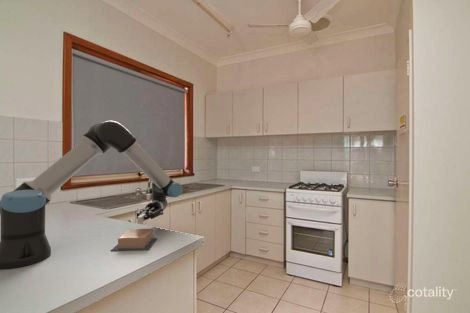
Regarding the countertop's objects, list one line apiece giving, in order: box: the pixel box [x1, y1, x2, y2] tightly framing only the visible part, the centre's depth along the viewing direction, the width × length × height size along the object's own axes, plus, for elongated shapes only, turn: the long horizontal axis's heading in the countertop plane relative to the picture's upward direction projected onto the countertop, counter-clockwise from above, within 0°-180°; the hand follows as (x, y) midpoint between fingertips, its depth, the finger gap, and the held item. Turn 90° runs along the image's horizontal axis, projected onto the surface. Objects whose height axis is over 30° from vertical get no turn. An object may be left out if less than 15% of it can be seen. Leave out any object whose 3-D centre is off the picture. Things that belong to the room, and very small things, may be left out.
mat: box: [110, 237, 158, 252], centre depth 97 cm, size 13×14×1 cm
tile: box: [117, 228, 154, 249], centre depth 99 cm, size 4×10×12 cm
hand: (139, 220), depth 101 cm, fingers closed
